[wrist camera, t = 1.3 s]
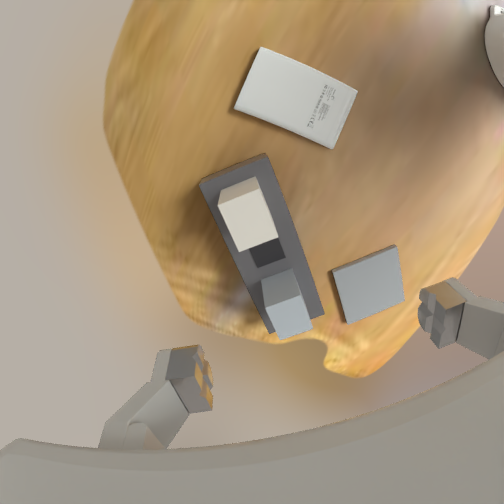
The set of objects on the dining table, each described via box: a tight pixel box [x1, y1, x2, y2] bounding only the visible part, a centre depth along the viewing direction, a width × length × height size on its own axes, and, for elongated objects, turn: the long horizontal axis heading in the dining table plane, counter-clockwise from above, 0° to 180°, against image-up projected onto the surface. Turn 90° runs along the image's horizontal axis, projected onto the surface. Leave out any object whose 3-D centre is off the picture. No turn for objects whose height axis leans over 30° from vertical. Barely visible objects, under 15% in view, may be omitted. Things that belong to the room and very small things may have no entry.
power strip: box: [199, 153, 325, 334], centre depth 38 cm, size 8×22×4 cm, turn 22°
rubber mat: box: [332, 245, 405, 324], centre depth 43 cm, size 10×10×1 cm
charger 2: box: [261, 268, 313, 340], centre depth 36 cm, size 4×5×6 cm
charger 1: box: [218, 176, 278, 252], centre depth 32 cm, size 4×5×8 cm
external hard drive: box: [234, 47, 358, 149], centre depth 32 cm, size 2×8×12 cm
